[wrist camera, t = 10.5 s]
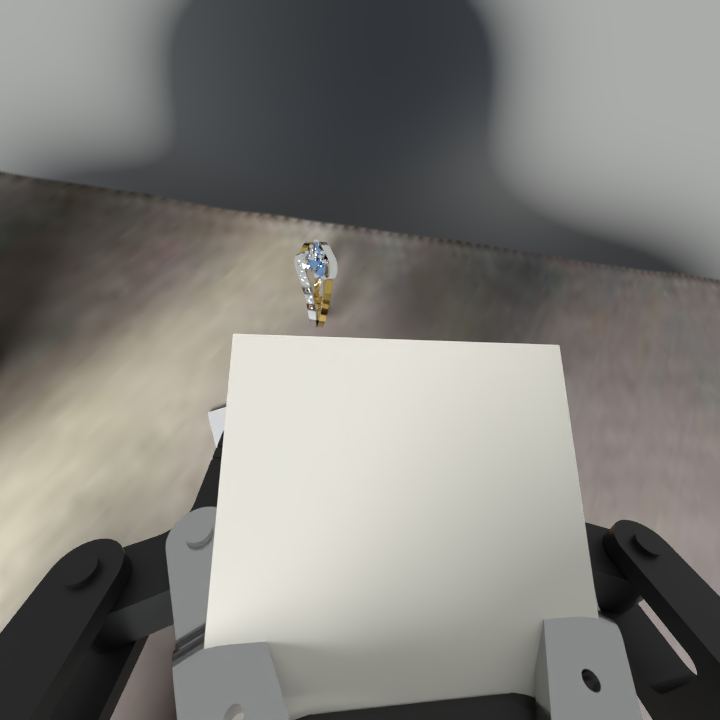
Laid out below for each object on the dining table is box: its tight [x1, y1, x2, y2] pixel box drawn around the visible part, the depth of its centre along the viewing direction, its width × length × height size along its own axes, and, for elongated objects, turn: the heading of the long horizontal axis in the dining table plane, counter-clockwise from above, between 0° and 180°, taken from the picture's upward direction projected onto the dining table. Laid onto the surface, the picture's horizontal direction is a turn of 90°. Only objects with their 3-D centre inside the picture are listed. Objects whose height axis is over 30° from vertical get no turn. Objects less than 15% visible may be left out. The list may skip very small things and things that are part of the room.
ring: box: [294, 239, 338, 327], centre depth 26 cm, size 7×3×8 cm, turn 177°
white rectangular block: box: [204, 334, 599, 720], centre depth 11 cm, size 6×6×11 cm
